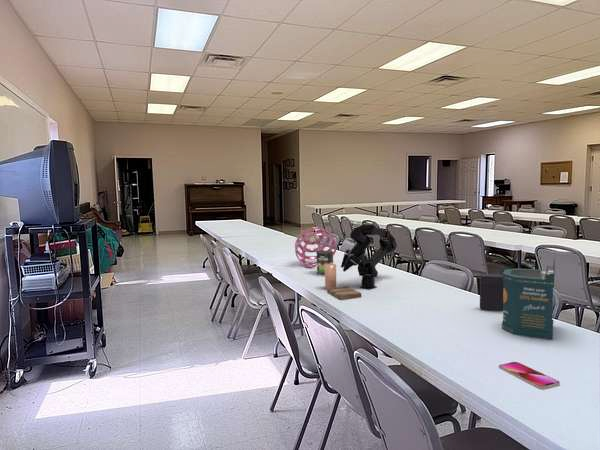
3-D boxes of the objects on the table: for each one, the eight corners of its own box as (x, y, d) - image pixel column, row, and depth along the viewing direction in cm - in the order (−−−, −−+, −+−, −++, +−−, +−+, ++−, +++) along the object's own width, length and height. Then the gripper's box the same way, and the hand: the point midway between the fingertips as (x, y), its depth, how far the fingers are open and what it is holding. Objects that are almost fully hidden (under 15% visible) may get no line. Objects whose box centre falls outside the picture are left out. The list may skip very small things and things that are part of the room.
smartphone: (516, 361, 125) (561, 382, 111) (516, 364, 125) (561, 385, 111) (496, 365, 123) (541, 387, 108) (496, 368, 123) (541, 391, 108)
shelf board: (327, 292, 212) (327, 288, 212) (346, 289, 216) (346, 286, 215) (340, 300, 197) (340, 296, 197) (361, 297, 201) (361, 293, 201)
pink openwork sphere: (336, 241, 257) (327, 214, 277) (293, 253, 258) (287, 225, 279) (343, 270, 275) (335, 243, 296) (303, 281, 276) (297, 253, 297)
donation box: (552, 340, 141) (554, 259, 138) (500, 332, 149) (501, 256, 147) (553, 325, 154) (555, 251, 152) (505, 319, 163) (506, 249, 160)
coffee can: (330, 276, 247) (330, 253, 245) (314, 275, 250) (313, 253, 249) (335, 273, 256) (335, 250, 255) (320, 272, 260) (319, 250, 258)
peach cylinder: (331, 286, 223) (330, 263, 221) (338, 288, 218) (338, 264, 217) (322, 289, 219) (322, 264, 218) (330, 291, 214) (329, 266, 213)
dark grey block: (507, 309, 175) (508, 274, 173) (509, 312, 171) (509, 277, 169) (479, 307, 179) (479, 273, 177) (480, 310, 175) (480, 275, 173)
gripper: (376, 258, 206) (357, 282, 207) (370, 252, 224) (352, 274, 225) (359, 245, 205) (339, 269, 206) (354, 239, 223) (336, 262, 224)
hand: (342, 269), depth 215 cm, fingers open, 9 cm apart
